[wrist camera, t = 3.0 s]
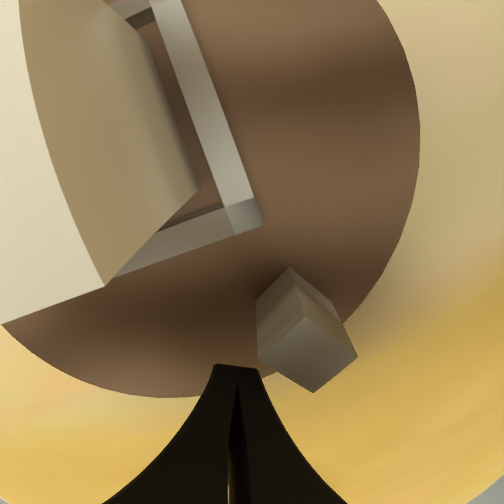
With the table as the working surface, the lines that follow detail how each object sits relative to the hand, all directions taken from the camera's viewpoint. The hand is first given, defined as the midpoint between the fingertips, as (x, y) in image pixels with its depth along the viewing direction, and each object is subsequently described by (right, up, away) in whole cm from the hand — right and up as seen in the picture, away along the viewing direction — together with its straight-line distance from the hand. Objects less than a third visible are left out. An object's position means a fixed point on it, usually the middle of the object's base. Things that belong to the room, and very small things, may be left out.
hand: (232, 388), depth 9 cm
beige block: (-5, +9, -1) cm, 10 cm away
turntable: (-4, +8, +1) cm, 9 cm away
